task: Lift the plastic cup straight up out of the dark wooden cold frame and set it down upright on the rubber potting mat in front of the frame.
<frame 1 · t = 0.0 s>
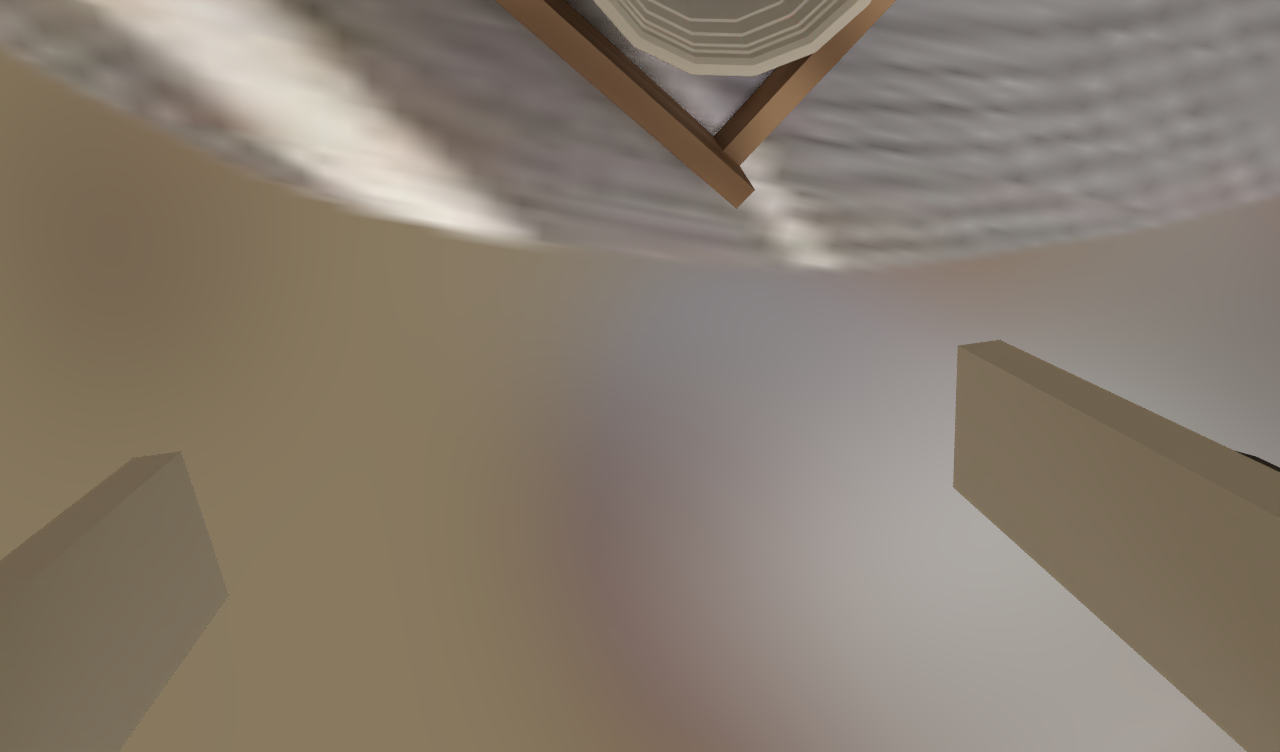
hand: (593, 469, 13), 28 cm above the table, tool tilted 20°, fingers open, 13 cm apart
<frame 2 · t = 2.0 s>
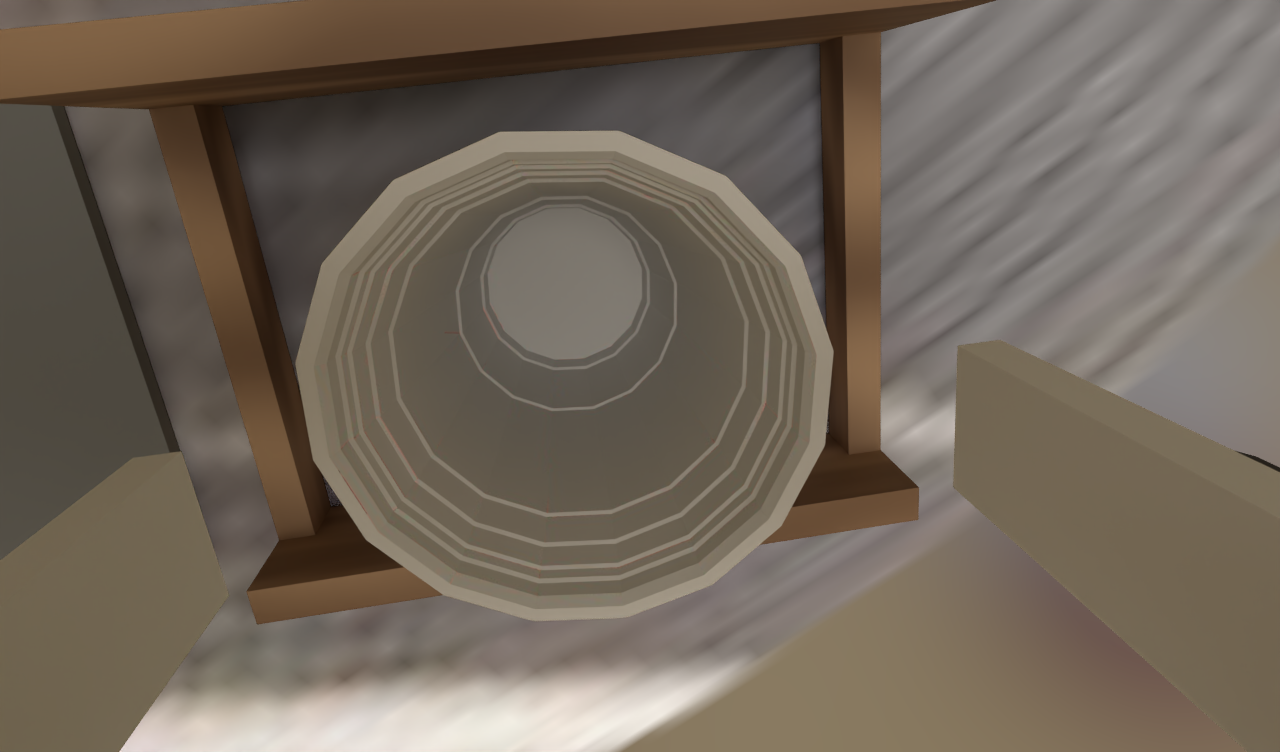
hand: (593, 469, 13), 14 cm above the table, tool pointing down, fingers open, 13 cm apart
plastic cup: (560, 287, 26), resting in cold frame
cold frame: (560, 288, 26), on the table
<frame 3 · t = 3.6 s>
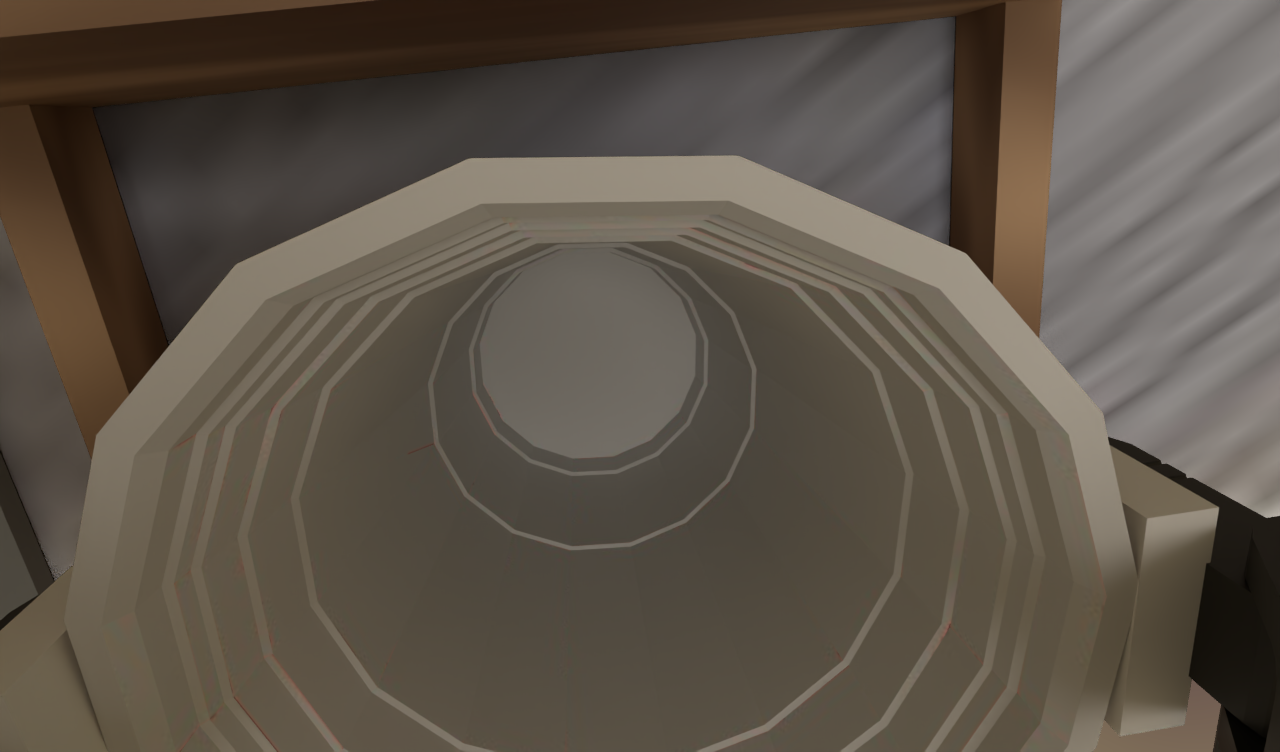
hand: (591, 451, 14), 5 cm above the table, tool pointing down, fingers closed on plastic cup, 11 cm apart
plastic cup: (581, 360, 19), resting in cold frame, touching gripper
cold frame: (581, 362, 19), on the table
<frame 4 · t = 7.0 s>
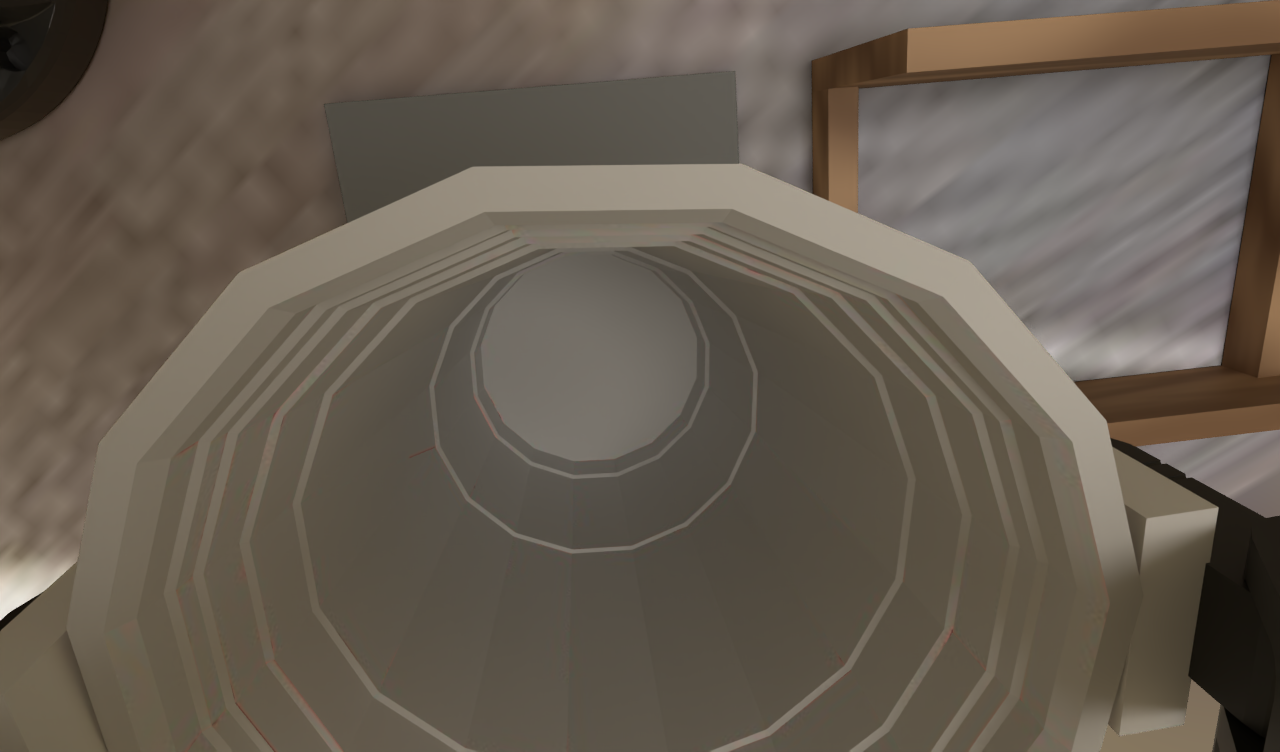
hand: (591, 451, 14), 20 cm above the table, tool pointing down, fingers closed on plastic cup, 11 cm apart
plastic cup: (583, 362, 19), point 14 cm above the table, touching gripper
potting mat: (556, 286, 32), on the table
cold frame: (1046, 238, 34), on the table
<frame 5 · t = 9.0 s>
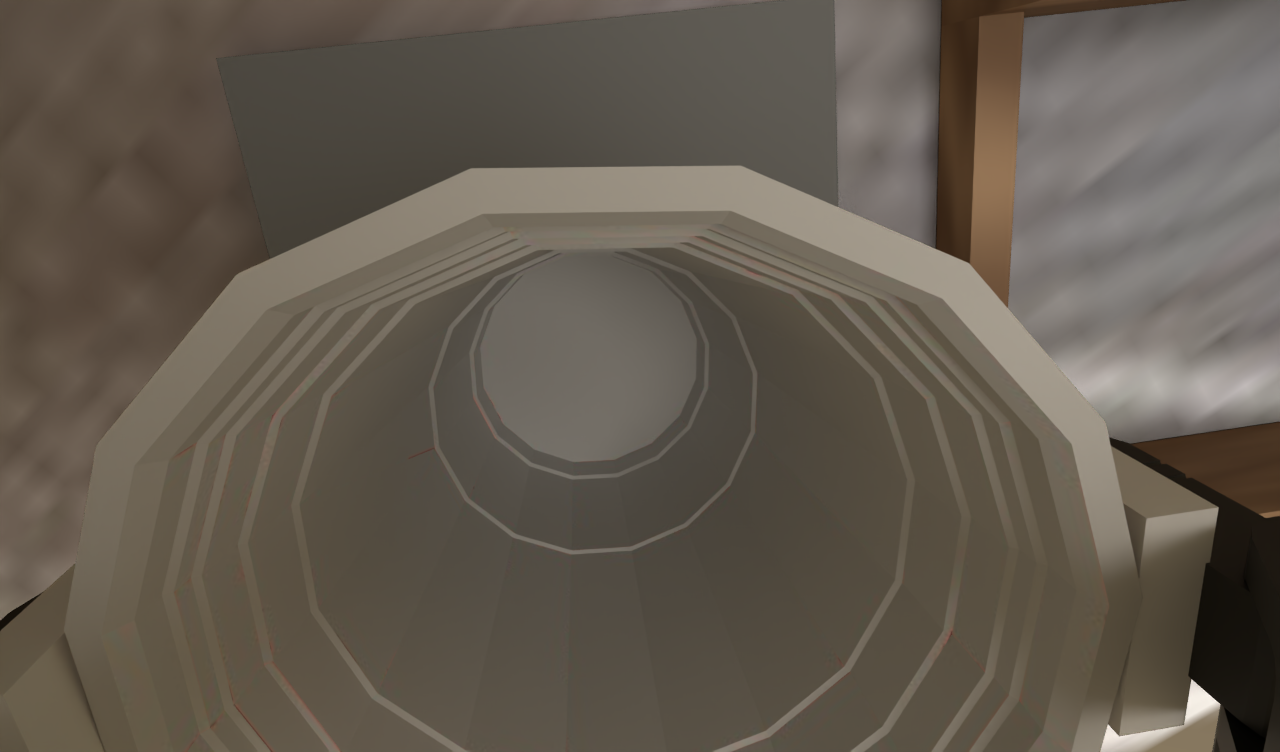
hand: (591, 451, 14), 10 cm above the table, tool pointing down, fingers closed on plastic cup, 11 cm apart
plastic cup: (582, 363, 19), point 4 cm above the table, touching gripper
potting mat: (574, 318, 23), on the table
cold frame: (1256, 230, 24), on the table
when the fingers open (7 cm above the table, at t = 10.6 s): plastic cup stays where it is, resting on potting mat.
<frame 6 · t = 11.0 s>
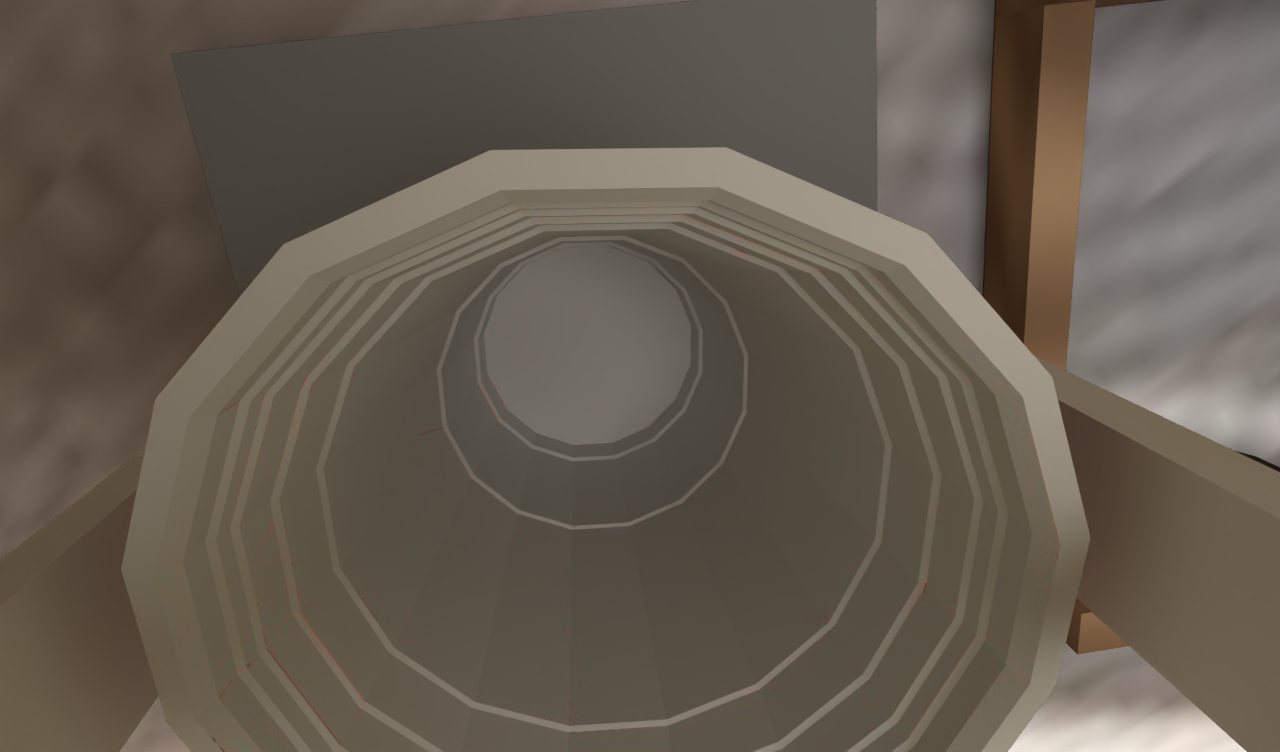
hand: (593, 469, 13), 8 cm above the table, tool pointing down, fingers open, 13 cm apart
plastic cup: (581, 350, 20), resting on potting mat
potting mat: (579, 346, 20), on the table
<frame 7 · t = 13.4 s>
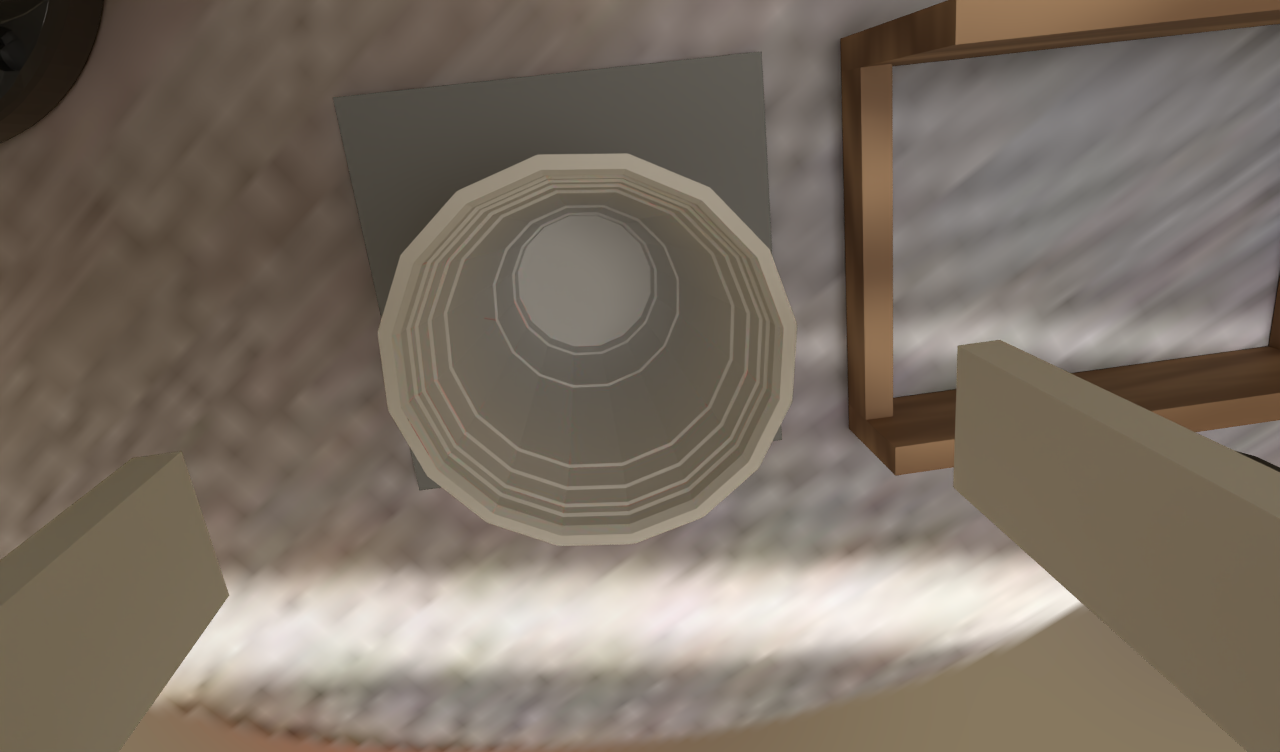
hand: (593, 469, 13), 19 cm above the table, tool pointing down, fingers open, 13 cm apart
plastic cup: (580, 284, 31), resting on potting mat
potting mat: (579, 282, 31), on the table
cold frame: (1086, 219, 32), on the table
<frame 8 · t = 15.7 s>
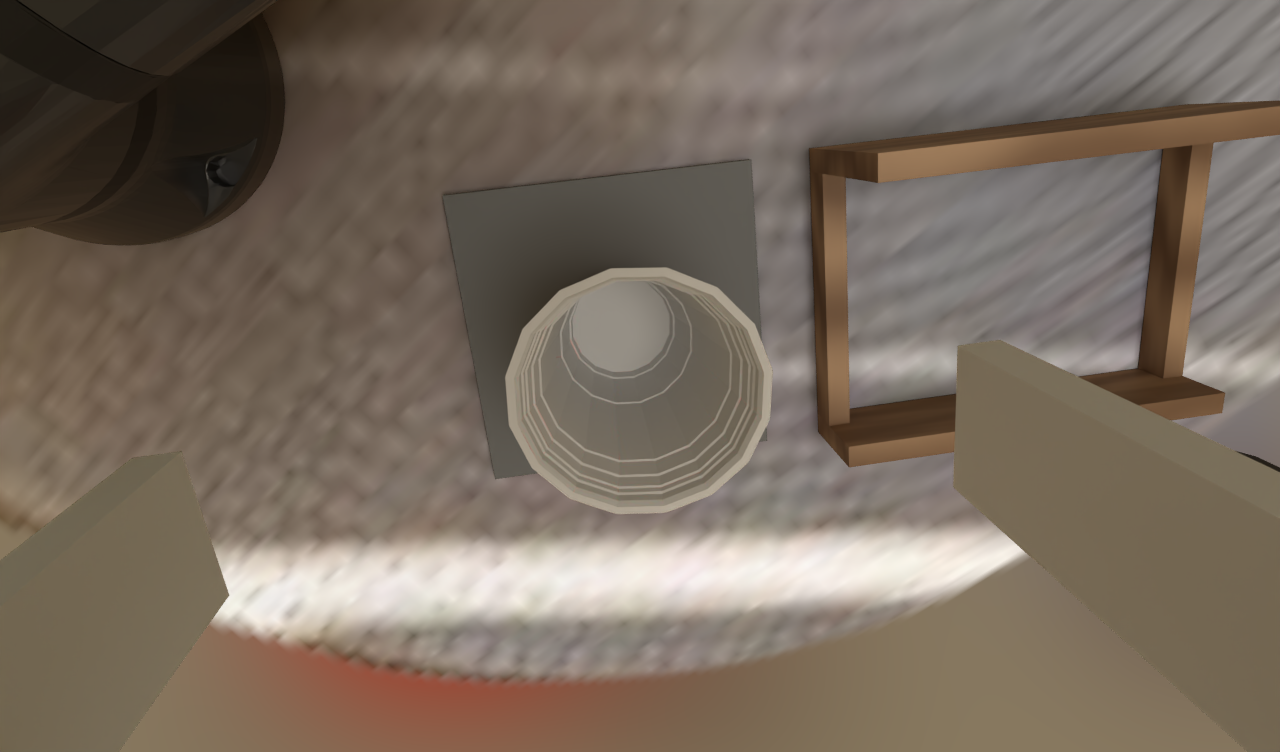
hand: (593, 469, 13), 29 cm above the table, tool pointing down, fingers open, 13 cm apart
plastic cup: (617, 326, 41), resting on potting mat
potting mat: (616, 324, 42), on the table
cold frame: (995, 275, 43), on the table
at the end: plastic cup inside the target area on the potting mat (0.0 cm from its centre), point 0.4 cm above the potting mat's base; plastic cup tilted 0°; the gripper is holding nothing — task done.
